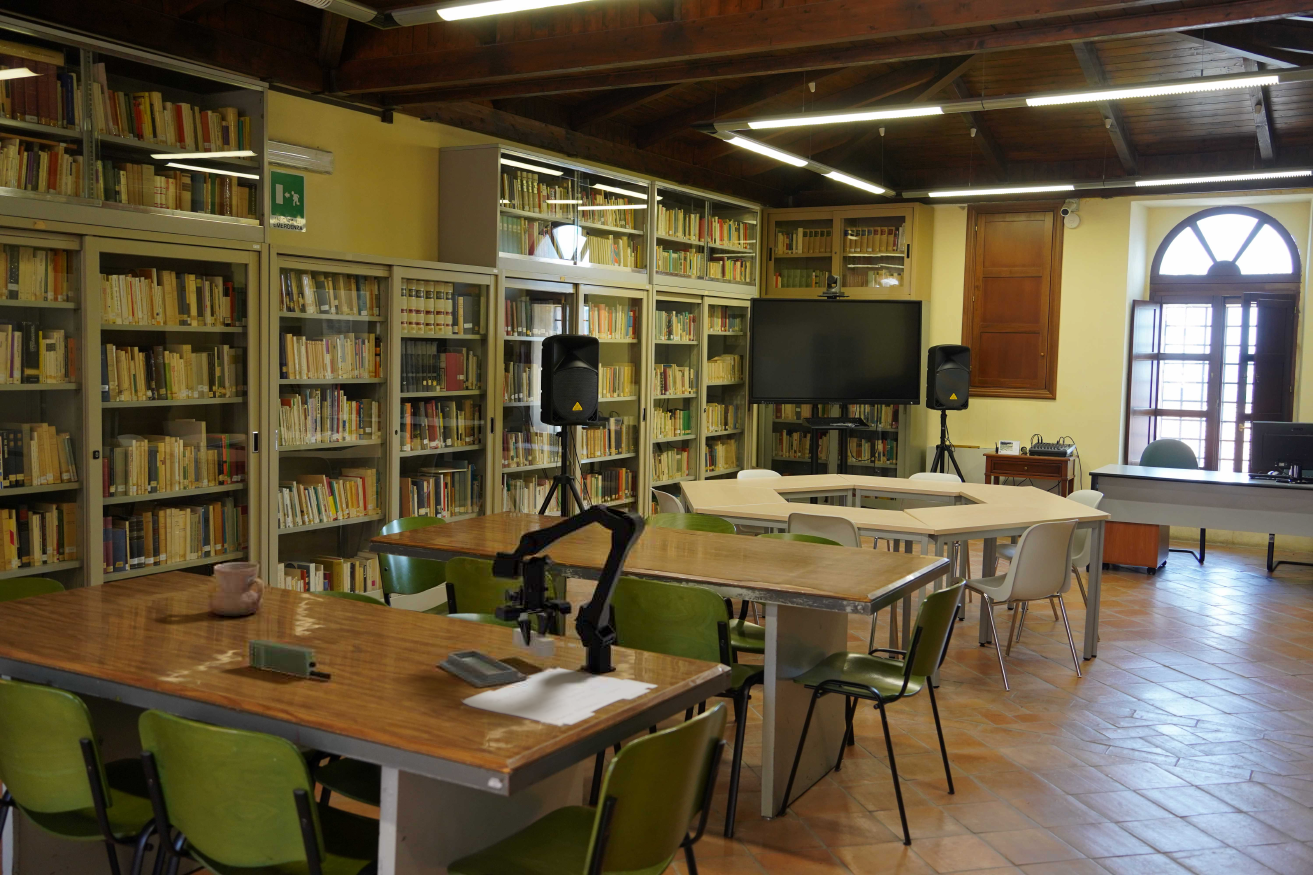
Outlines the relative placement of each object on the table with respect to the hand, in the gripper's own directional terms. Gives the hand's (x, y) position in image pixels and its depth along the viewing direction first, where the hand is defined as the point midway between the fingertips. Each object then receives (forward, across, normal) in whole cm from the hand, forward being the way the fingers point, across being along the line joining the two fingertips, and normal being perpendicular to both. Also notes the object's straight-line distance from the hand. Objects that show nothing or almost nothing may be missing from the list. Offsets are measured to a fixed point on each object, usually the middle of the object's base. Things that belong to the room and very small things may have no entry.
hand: (533, 644), depth 261 cm
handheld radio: (+5, +53, -20) cm, 57 cm away
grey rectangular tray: (+4, +15, +2) cm, 16 cm away
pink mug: (+4, +47, -91) cm, 102 cm away
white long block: (+1, 0, 0) cm, 1 cm away
